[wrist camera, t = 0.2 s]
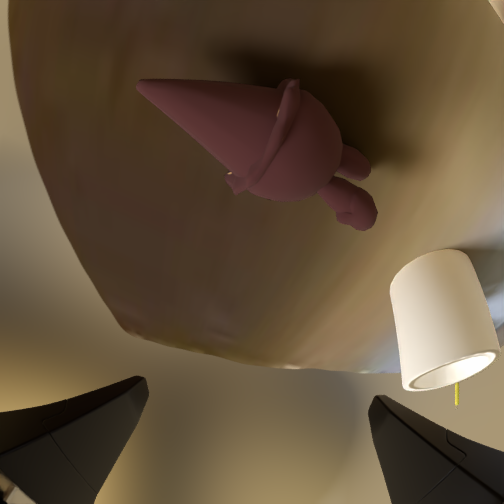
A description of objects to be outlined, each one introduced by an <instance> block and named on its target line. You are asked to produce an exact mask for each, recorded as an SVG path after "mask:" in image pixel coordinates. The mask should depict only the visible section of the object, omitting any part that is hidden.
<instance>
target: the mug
mask: <svg viewBox="0 0 504 504" xmlns="http://www.w3.org/2000/svg"><path fill="white" fill-rule="evenodd" d="M390 296H391V301H392V307H393V313H394V319H395V325H396V331H397V338H398V346H399V354H400V363H401V373H402V383H403V384H402V385H403V388H404V389H405V390H408V391H426V390H433V389H437V388H442V387H446V386H449V385H452V384H455V383H458V382H461V381H463V380H466V379H468V378H470V377H472V376H474V375H476V374H478V373H480V372H481V371H483V370H485V369H486V368H488V367H489V366H490V365H492V364H493V363H494V362H495V361H496V360H497V359H498V358H499V356H500V354H501V351H500V347H499V343H498V339H497V335H496V331H495V327H494V324H493V321H492V317H491V314H490V311H489V308H488V305H487V302H486V299H485V296H484V293H483V290H482V288H481V285H480V282H479V280H478V277H477V275H476V272H475V270H474V267H473V265H472V263H471V261H470V259H469V257H468V256H467V254H465V253H463V252H461V251H459V250H453V249H443V250H437V251H432V252H430V253H427V254H425V255H422V256H419V257H418V258H416V259H414V260H413V261H411V262H410V263H408V264H407V265H405V266H404V267H403V268H402V269H401V270H400V271H399V272H398V273H397V274H396V276H395V277H394V279H393V281H392V283H391V286H390Z"/></svg>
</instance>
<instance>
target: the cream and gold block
mask: <svg viewBox="0 0 504 504" xmlns="http://www.w3.org/2000/svg"><path fill="white" fill-rule="evenodd" d="M488 1H489V3H490V4H491V5H492V7H493V8H494V10H495V11H496V13H497V14H498V16H499V17H500V19H501V21H502V22H503V24H504V0H488Z"/></svg>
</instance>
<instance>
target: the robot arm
mask: <svg viewBox="0 0 504 504" xmlns="http://www.w3.org/2000/svg"><path fill="white" fill-rule="evenodd" d="M148 397H149V390H148V385H147V381H146V379H145V378H144V377H141V376H133V377H131V378H128V379H125V380H123V381H120V382H117V383H114V384H112V385H109V386H106V387H103V388H100V389H97V390H94V391H91V392H88V393H85V394H82V395H79V396H76V397H73V398H70V399H67V400H66V399H65V400H62V401H59V402H55V403H51V404H47V405H42V406H37V407H32V408H26V409H21V410H14V411H7V412H0V504H94V501H95V499H96V496H97V494H98V493H99V491H100V489H101V487H102V486H103V484H104V482H105V480H106V478H107V477H108V475H109V473H110V471H111V470H112V468H113V466H114V464H115V463H116V461H117V459H118V457H119V455H120V454H121V452H122V450H123V448H124V447H125V445H126V443H127V441H128V440H129V438H130V436H131V434H132V433H133V431H134V429H135V427H136V426H137V424H138V422H139V419H140V417H141V415H142V412H143V410H144V407H145V405H146V402H147V400H148ZM368 417H369V421H370V427H371V433H372V438H373V443H374V446H375V449H376V452H377V455H378V459H379V462H380V465H381V468H382V471H383V475H384V478H385V482H386V485H387V489H388V492H389V496H390V499H391V503H392V504H504V452H502V451H499V450H496V449H494V448H490V447H488V446H485V445H482V444H480V443H477V442H474V441H472V440H469V439H467V438H465V437H462V436H460V435H458V434H456V433H454V432H452V431H450V430H448V429H447V430H446V429H445V428H444V427H442V426H440V425H438V424H436V423H434V422H432V421H430V420H429V419H427V418H425V417H423V416H421V415H419V414H418V413H416V412H414V411H412V410H410V409H408V408H407V407H405V406H403V405H401V404H400V403H398V402H396V401H394V400H392V399H391V398H389V397H387V396H386V395H376V396H375V397H374V398H373V401H372V403H371V405H370V407H369V410H368Z"/></svg>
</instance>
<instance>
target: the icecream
mask: <svg viewBox="0 0 504 504" xmlns="http://www.w3.org/2000/svg"><path fill="white" fill-rule="evenodd" d="M299 83H300V80H299V79H292V78H288V79H285V80H282V81H281V83H280V84H279V86H278V87H277V89H276V88H270V87H263V86H256V85H248V84H240V83H231V82H220V81H206V80H183V79H142V80H139V82H138V83H137V86H136V89H137V90H138V91H139V92H140V93H141V94H142V95H143V96H144V97H146V98H147V99H148V100H149V101H151V102H152V103H153V104H154V105H155V106H157V107H158V108H159V109H160V110H161V111H163V112H164V113H165V114H166V115H167V116H168V117H170V118H171V119H172V120H173V121H174V122H175V123H177V124H178V125H179V126H180V127H181V128H182V129H184V130H185V131H186V132H187V133H188V134H189V135H190V136H192V137H193V138H194V139H195V140H196V141H197V142H198V143H199V144H201V145H202V146H203V147H204V148H205V149H206V150H207V151H208V152H210V153H211V154H212V155H213V156H214V157H215V158H216V159H217V160H218V161H220V162H221V163H222V164H223V165H224V166H225V167H226V168H227V169H228V170H229V171H228V172H227V173H226V174H225V175H224V176H225V180H226V183H227V184H228V185H229V186H230V187H231V188H232V190H233V192H234V194H235V195H237V194H239V193H241V192H242V191H244V190H246V189H247V190H248V191H249V192H251V193H252V194H254V195H257V196H260V197H263V198H266V199H269V200H275V201H280V202H285V201H301V200H303V199H306V198H308V197H310V196H313V195H315V194H316V193H318V194H319V195H320V196H321V197H322V198H323V199H324V201H325V202H326V203H327V204H328V205H329V206H330V207H331V208H332V209H333V210H334V211H336V217H337V221H339V222H340V223H342V224H347V225H351V226H352V227H354V228H355V229H356V230H361V231H365V230H367V229H369V228H371V227H372V226H373V225H374V223H375V221H376V217H377V214H378V212H377V209H376V206H375V203H374V201H373V198H372V196H371V195H370V194H369V193H368V192H367V191H365V190H363V189H362V188H360V187H357V186H355V185H354V184H352V183H350V182H349V181H347V180H345V179H343V178H339V177H335V176H333V175H334V174H335V172H336V171H337V172H339V173H341V174H342V175H344V176H346V177H348V178H351V179H355V180H358V181H361V180H364V179H365V178H367V177H368V176H369V174H370V172H371V167H370V163H369V161H368V160H367V158H366V157H365V156H364V155H362V154H361V153H360V152H359V151H358V150H357V149H356V148H354V147H351V146H348V145H345V144H343V143H342V139H341V134H340V130H339V128H338V126H337V125H336V123H335V122H334V120H333V118H332V117H331V115H330V114H329V112H328V111H327V110H326V108H325V107H324V105H323V104H322V103H321V102H320V101H318V100H317V99H316V98H315V97H313V96H312V95H311V94H310V93H309V92H307V91H306V90H302V89H299Z"/></svg>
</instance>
